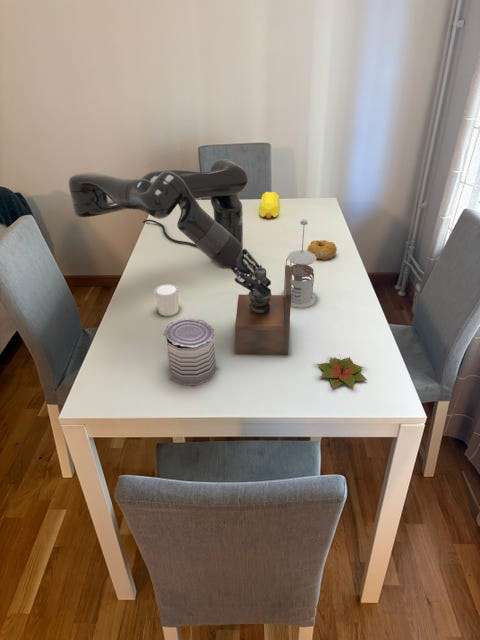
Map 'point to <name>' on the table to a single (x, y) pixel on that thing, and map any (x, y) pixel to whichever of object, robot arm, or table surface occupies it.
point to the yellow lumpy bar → (269, 205)
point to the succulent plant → (341, 371)
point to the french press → (302, 289)
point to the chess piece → (259, 294)
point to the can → (190, 351)
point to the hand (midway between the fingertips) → (268, 289)
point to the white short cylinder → (167, 299)
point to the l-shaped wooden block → (264, 324)
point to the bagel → (322, 249)
